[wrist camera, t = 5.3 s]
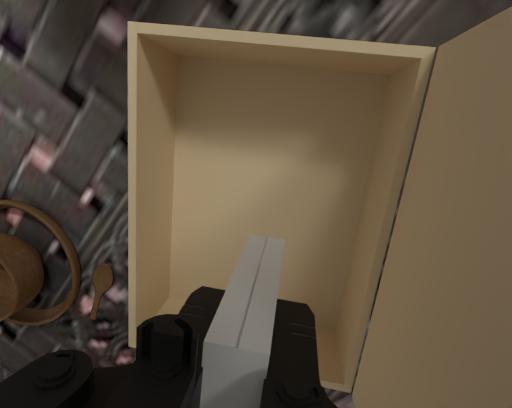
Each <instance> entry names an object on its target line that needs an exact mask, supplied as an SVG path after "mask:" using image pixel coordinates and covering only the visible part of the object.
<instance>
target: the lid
mask: <svg viewBox="0 0 512 408" xmlns="http://www.w3.org/2000/svg"><path fill="white" fill-rule="evenodd" d="M352 399H353V404H354V408H512V6H511V7H510V8H508V9H506V10H504V11H502V12H500V13H499V14H497V15H495V16H493V17H491V18H490V19H488V20H486V21H484V22H482V23H481V24H479V25H477V26H475V27H473V28H471V29H470V30H468V31H466V32H464V33H462V34H461V35H459V36H457V37H455V38H453V39H451V40H450V41H448V42H446V43H444V44H442V45H441V46H439V48H438V52H437V56H436V60H435V64H434V68H433V72H432V76H431V80H430V84H429V88H428V92H427V96H426V100H425V104H424V108H423V112H422V116H421V120H420V124H419V128H418V132H417V136H416V140H415V144H414V149H413V153H412V157H411V161H410V165H409V169H408V173H407V177H406V181H405V185H404V189H403V193H402V197H401V201H400V205H399V209H398V213H397V217H396V221H395V225H394V229H393V233H392V237H391V241H390V245H389V249H388V253H387V257H386V261H385V265H384V269H383V273H382V277H381V281H380V285H379V289H378V293H377V297H376V301H375V305H374V309H373V313H372V317H371V321H370V325H369V329H368V333H367V337H366V341H365V345H364V349H363V353H362V357H361V361H360V365H359V369H358V373H357V377H356V382H355V386H354V390H353V394H352Z"/></svg>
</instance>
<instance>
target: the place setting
mask: <svg viewBox="0 0 512 408" xmlns="http://www.w3.org/2000/svg"><path fill="white" fill-rule="evenodd" d="M3 208H18V209H20V210H23V211H25V212H27V213H29V214H30V215H32V216H33V217H35V218H36V219H38V220H39V221H40V222H42V223H43V224H44V225H45V226H46V227H47V228H48V229H49V230H50V231H51V232H52V233H53V234H54V236H55V237H56V238H57V239H58V241H59V243H60V244H61V246H62V247H63V249H64V251H65V253H66V255H67V258H68V261H69V264H70V268H71V275H72V288H71V292H70V294H69V295H68V297H67V298H66V299H65V300H64V301H63V302H62V303H60V304H58V305H57V306H54V307H52V308H48V309H30V308H26V307H25V306H26V305H27V304H29V303H30V302H31V301H32V300H33V299H34V298H35V297H36V296H37V295H38V293H39V292H40V290H41V288H42V286H43V282H44V268H43V261H42V258H41V256H40V254H39V253H38V252H37V250H36V249H35V248H34V247H32V246H31V245H30V244H28V243H26V242H25V241H24V240H22V239H20V238H18V237H16V236H13V235H10V234H5V233H0V321H3V320H8V321H10V322H13V323H17V324H21V325H32V326H34V325H42V324H46V323H49V322H51V321H54V320H55V319H57V318H59V317H60V316H61V315H62V314H63V313H64V312H66V311H67V310H68V308H69V307H70V306H71V305H72V303H73V302H74V300H75V298H76V296H77V293H78V290H79V287H80V281H81V269H80V263H79V258H78V255H77V252H76V250H75V247H74V245H73V243H72V241H71V240H70V238H69V237H68V235H67V234H66V232H65V231H64V230H63V229H62V227H61V226H60V225H59V224H58V223H57V222H56V221H54V220H53V219H52V218H51V217H50V216H48V215H47V214H45V213H44V212H43V211H41V210H39V209H37V208H35V207H33V206H31V205H28V204H26V203H22V202H18V201H13V200H0V209H3ZM92 278H93V284H94V287H95V299H94V303H93V307H92V310H91V314H90V318H91V319H93V320H95V318H96V315H97V311H98V306H99V301H100V298H101V296H102V294H103V293H104V292H105V291H107V290H108V289H109V288H110V287H111V285H112V282H113V273H112V269H111V267H110V265H108V264H106V263H101V264H100V265H99V266H97V267H96V269H95V270H94V272H93V277H92Z"/></svg>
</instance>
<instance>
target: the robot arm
mask: <svg viewBox="0 0 512 408" xmlns="http://www.w3.org/2000/svg"><path fill="white" fill-rule="evenodd" d="M283 247H284V240H283V239H277V238H271V237H265V236H259V235H252V234H250V236H249V238H248V241H247V243H246V245H245V247H244V250H243V252H242V254H241V257H240V259H239V261H238V264H237V266H236V268H235V270H234V273H233V275H232V277H231V280H230V282H229V284H228V286H227V289H226V290H222V289H216V288H211V287H205V286H201V287H200V288H198V289H197V290H195V291H194V292H192V293H191V294H190V295H189V297H188V299H187V300H186V302H185V304H184V305H183V307H182V308H181V310H180V311H179V314H163V315H157V316H154V317H152V318H149V319H147V320H145V321H144V322H142V323H141V324H140V325H139V326H138V327H137V329H136V361H135V362H134V363H133V364H130V365H125V366H119V367H105V368H93V365H92V360H91V358H90V357H89V356H88V355H87V354H86V353H84V352H81V351H77V350H60V351H56V352H53V353H49V354H46V355H44V356H42V357H40V358H38V359H36V360H35V361H33V362H31V363H30V364H28V365H27V366H25V367H24V368H22V369H21V370H19V371H17V372H16V373H14V374H13V375H11V376H10V377H8V378H7V379H5V380H4V381H2V382H1V383H0V408H338V407H337V406H335V405H334V404H333V403H332V402H331V401H330V399H329V398H328V397H327V396H326V393H325V390H324V388H323V387H322V385H321V383H320V378H319V366H318V353H317V340H316V329H315V315H314V313H313V312H312V310H311V309H310V307H309V306H308V304H304V303H299V302H293V301H288V300H283V299H277V295H278V287H279V279H280V271H281V263H282V255H283Z"/></svg>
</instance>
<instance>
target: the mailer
mask: <svg viewBox="0 0 512 408" xmlns="http://www.w3.org/2000/svg"><path fill="white" fill-rule="evenodd" d="M435 49H436V47H426V46H414V45H402V44H390V43H379V42H367V41H355V40H343V39H332V38H320V37H308V36H296V35H285V34H273V33H261V32H249V31H238V30H226V29H214V28H202V27H191V26H179V25H167V24H155V23H143V22H132V21H128V307H129V347H133V348H136V329H137V327H138V326H139V325H140V324H141V323H142V322H144V321H145V320H147V319H149V318H152V317H154V316H157V315H163V314H179V311H180V310H181V308H182V307H183V305H184V304H185V302H186V300H187V299H188V297H189V295H190V294H191V293H192V292H194V291H195V290H197V289H198V288H200V287H201V286H205V287H211V288H216V289H222V290H226V289H227V286H228V284H229V282H230V280H231V277H232V275H233V273H234V270H235V268H236V266H237V264H238V261H239V259H240V257H241V254H242V252H243V250H244V247H245V245H246V243H247V241H248V238H249V236H250V234H252V235H259V236H265V237H271V238H277V239H283V240H284V247H283V255H282V263H281V271H280V279H279V287H278V295H277V299H283V300H288V301H293V302H299V303H304V304H308V306H309V307H310V309H311V310H312V312H313V313H314V315H315V329H316V340H317V353H318V366H319V378H320V383H321V385H322V387H325V388H330V389H334V390H339V391H344V392H349V393H351V390H352V385H353V381H354V377H355V373H356V369H357V365H358V361H359V357H360V353H361V349H362V345H363V341H364V337H365V333H366V329H367V325H368V321H369V317H370V312H371V308H372V304H373V300H374V296H375V292H376V288H377V284H378V280H379V276H380V272H381V268H382V264H383V260H384V256H385V252H386V248H387V244H388V240H389V235H390V231H391V227H392V223H393V219H394V215H395V211H396V207H397V203H398V199H399V195H400V191H401V187H402V183H403V179H404V175H405V171H406V167H407V162H408V158H409V154H410V150H411V146H412V142H413V138H414V134H415V130H416V126H417V122H418V118H419V114H420V110H421V106H422V102H423V98H424V94H425V90H426V85H427V81H428V77H429V73H430V69H431V65H432V61H433V57H434V53H435Z"/></svg>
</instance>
